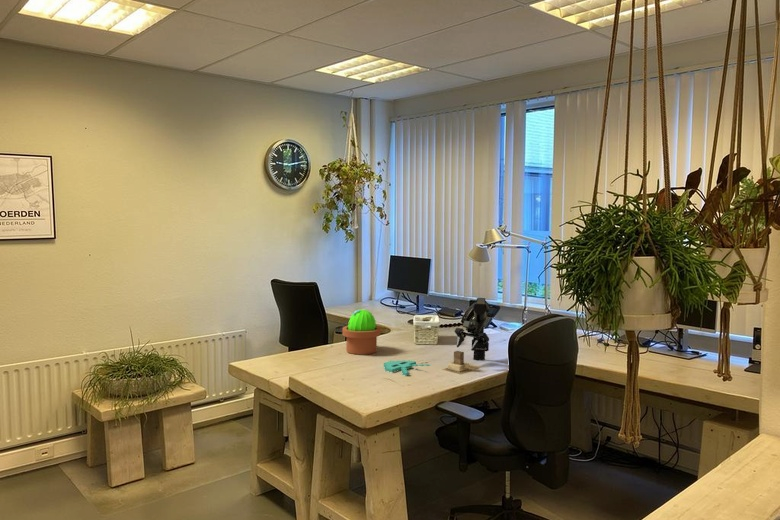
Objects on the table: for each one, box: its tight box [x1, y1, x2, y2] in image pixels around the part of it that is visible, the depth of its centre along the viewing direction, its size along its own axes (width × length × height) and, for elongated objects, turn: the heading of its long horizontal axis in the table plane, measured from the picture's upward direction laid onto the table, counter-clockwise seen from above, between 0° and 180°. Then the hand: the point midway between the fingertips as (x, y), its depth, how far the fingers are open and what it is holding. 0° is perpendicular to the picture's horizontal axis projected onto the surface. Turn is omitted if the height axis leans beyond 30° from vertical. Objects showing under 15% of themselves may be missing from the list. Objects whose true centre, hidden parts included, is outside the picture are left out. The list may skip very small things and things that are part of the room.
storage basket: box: [412, 314, 441, 345], centre depth 359 cm, size 24×16×15 cm
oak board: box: [441, 363, 482, 375], centre depth 291 cm, size 18×12×2 cm, turn 137°
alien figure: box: [383, 359, 430, 377], centre depth 296 cm, size 20×2×20 cm
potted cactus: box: [342, 309, 382, 356], centre depth 330 cm, size 22×22×25 cm
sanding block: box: [447, 350, 470, 372], centre depth 289 cm, size 8×7×9 cm
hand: (464, 348), depth 292 cm, fingers open, 9 cm apart
